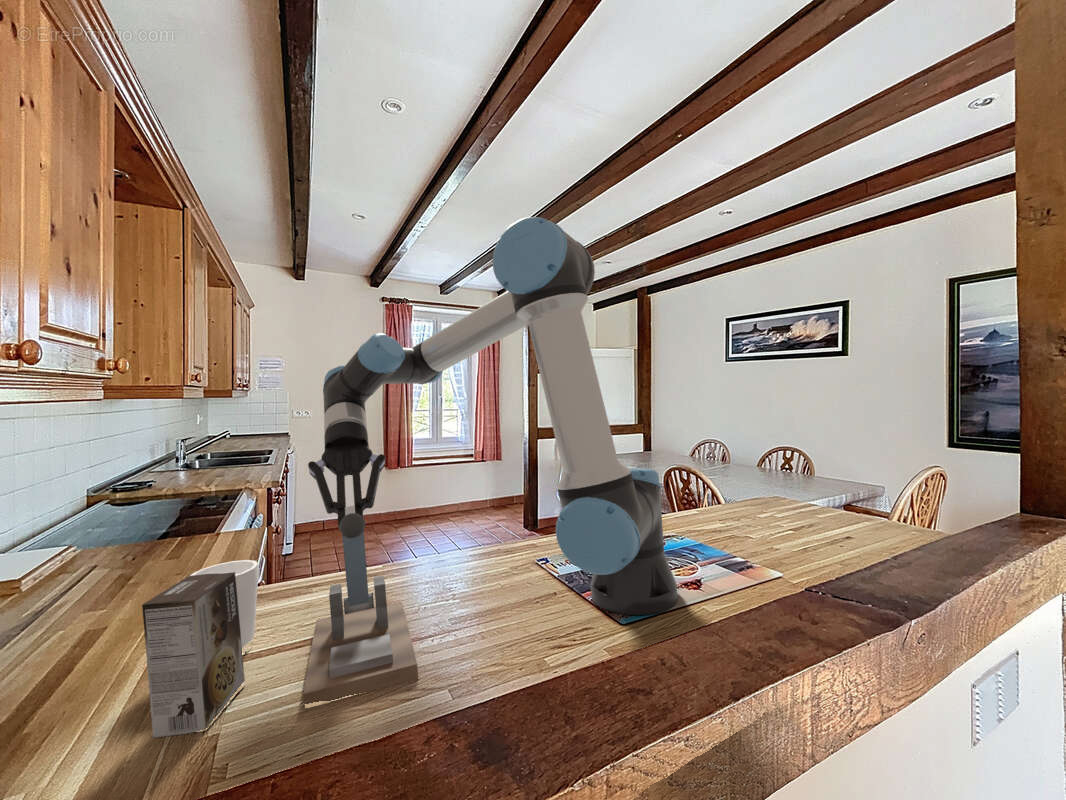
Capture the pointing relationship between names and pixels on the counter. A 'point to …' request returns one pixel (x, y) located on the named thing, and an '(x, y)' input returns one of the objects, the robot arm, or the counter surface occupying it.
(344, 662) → the press base
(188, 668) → the coffee box
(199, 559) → the counter surface
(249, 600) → the foam cup
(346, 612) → the lever
